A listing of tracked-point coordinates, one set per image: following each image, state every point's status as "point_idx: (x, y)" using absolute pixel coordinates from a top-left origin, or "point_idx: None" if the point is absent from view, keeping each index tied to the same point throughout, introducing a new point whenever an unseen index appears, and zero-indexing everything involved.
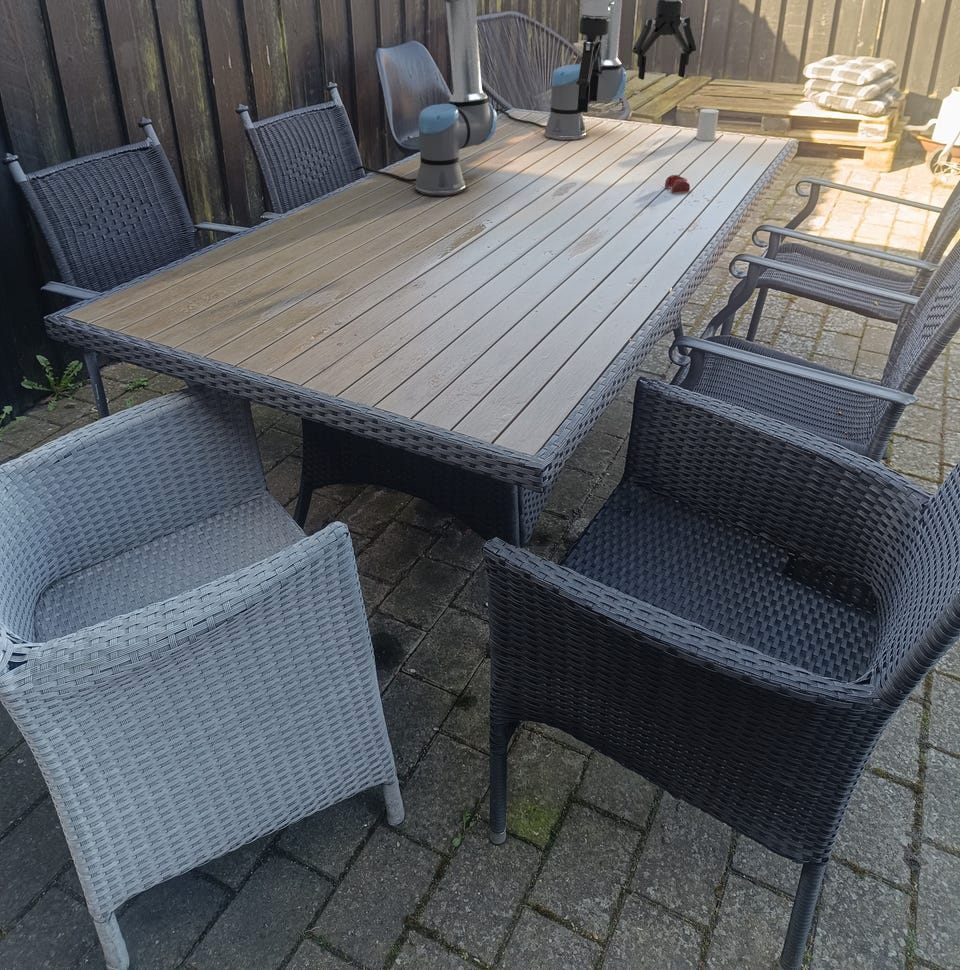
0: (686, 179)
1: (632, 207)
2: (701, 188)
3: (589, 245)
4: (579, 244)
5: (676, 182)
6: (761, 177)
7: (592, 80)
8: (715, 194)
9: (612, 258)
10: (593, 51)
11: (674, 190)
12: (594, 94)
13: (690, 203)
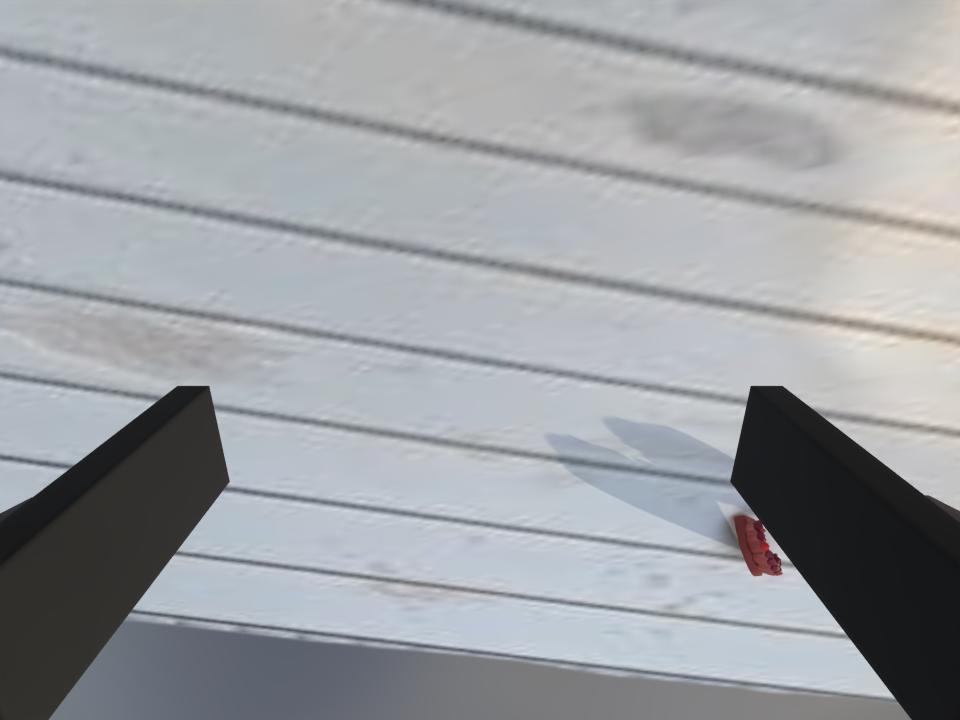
0: (775, 574)
1: (552, 422)
2: (796, 583)
3: (125, 355)
4: (116, 324)
5: (754, 545)
6: None
7: (904, 589)
8: (737, 619)
9: (56, 436)
10: None
11: (736, 526)
12: (769, 498)
13: (634, 569)
